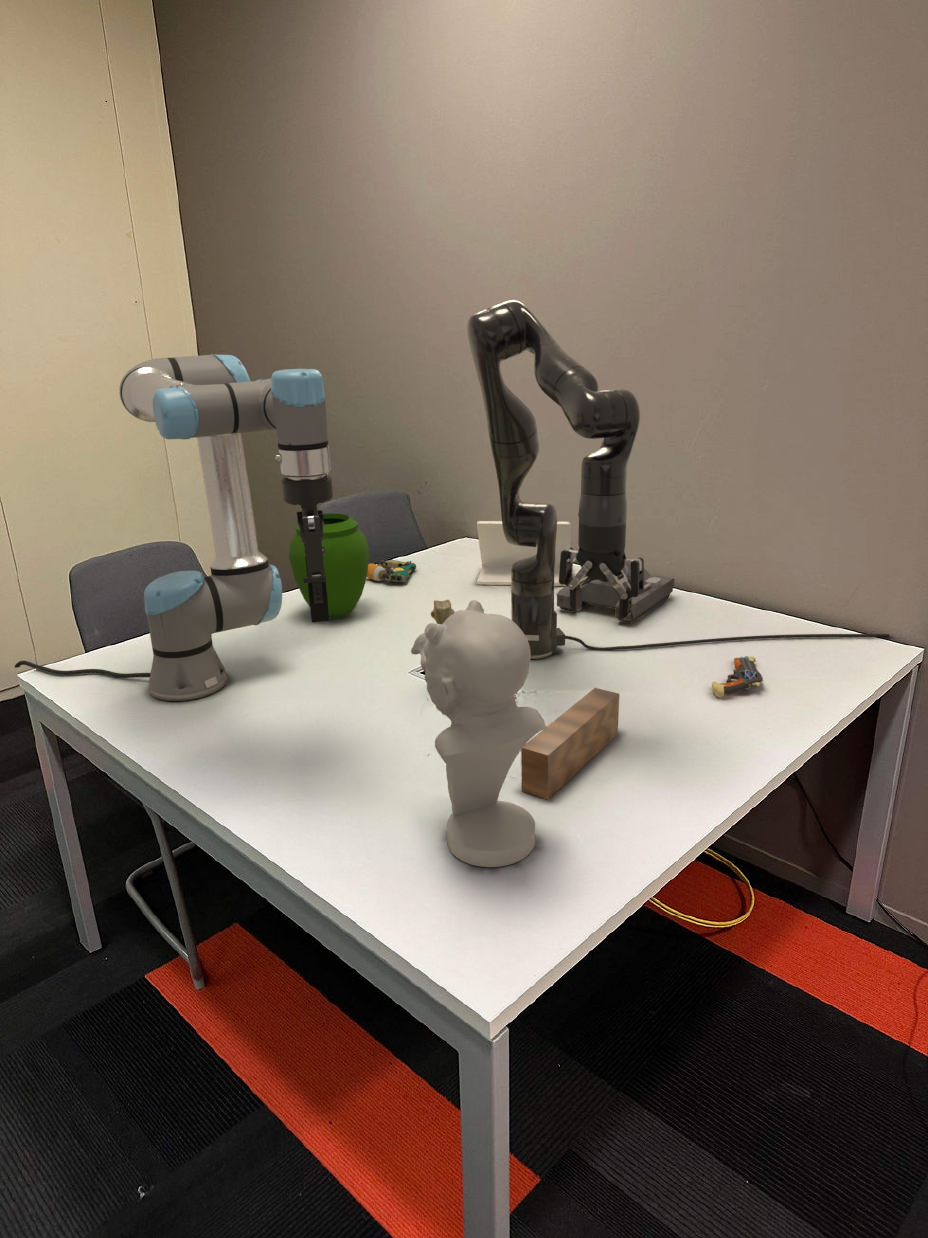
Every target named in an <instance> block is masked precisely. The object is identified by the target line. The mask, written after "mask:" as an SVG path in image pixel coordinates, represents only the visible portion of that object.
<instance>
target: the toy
mask: <svg viewBox="0 0 928 1238" xmlns="http://www.w3.org/2000/svg"><path fill="white" fill-rule="evenodd" d="M624 552H625V553H626V551H624ZM625 556H626V554H625ZM626 557H627V556H626ZM622 570H623V572H624V573H625V575H626V577H627V579H628V583H629V584H630V586H631V573H630V572H628V568H627V567H626V566H625V567H624V568H623V569H622ZM616 578H617V579H618V577H617V576H616ZM675 580H676V579H675V578H673V577H668V576H663V575H656V576H655V577H654V576H651V574H650V573H649V572H648V571H647V570H646V568H644V592H643V593H641V594H640V595H638V596H637V597H632V610H631V614H630V615H629V616H628V617H627V618H626V619H625V620H620V619H619V599H620V598H621V597H620V595H619V593H618V592H617V590H616V589H615V588H613V587H612V585H611V583H610V582H609V581H608V582H602V581H600V580H590V579H589V578H588V577H587V578H586V579H585V580H584V582H583V583H582V584H581V585H580V587H582V607H581V609H582V608H585V607H586V606H588V605H592V606H598V607H602V608H603V607H604V608H609V609H613V610H614V618H615V619H617V620H618V621H621V622H626V623H631V624H634V623H635V622H637V621H638V620H640V619H641V618H642V617H644V616H645V615H647V614H648V613H650V612H651V611H652V610H654V609H655V608H657V607H659V606H660V605H661V604H663V603H664V602H666V601H667V600H669V598H670V596H671V594H672V593H673V591H674V585H675ZM556 607H558V608H559V609H560V610H562V611H566V612H572V613H575V612H577V611H573V610H572V607H570V589H569V587H568V586H563V587H562V588H560V589H559V590H558V591H557V592H556Z"/></svg>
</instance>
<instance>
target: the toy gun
mask: <svg viewBox="0 0 928 1238" xmlns="http://www.w3.org/2000/svg"><path fill="white" fill-rule="evenodd" d="M756 662H757V658H756V657H755V656H753V655H752V656H747V655H745V656H744V657H743V656H740V657H734V658H733V664H734V668H735V669H733V670H732V671H733V673H732V674H731V673H730V674H728V675H727V679H726V682H722V683H721V682H720V683H718V682H717V681H712V682H711V691H712V693H713V695H714V696H715V697H719V698H720V697H724V696H728V695H731V694H735V693H737V692H741V691H745V690H746V689H750V688H752V687H754V686H756V687H760V685H761V683H763V682H765V680H764V679H763V676H762V673H760V671H758V669H757V666H756V664H755V663H756Z"/></svg>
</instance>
